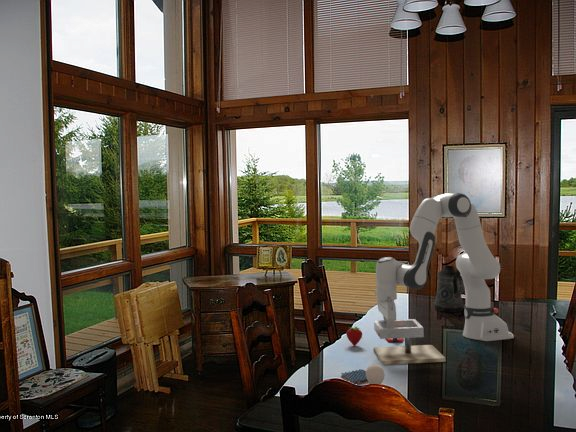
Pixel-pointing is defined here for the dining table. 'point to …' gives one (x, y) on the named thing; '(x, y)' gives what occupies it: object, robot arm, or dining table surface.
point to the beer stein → (449, 290)
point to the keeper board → (408, 354)
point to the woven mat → (355, 376)
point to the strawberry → (354, 335)
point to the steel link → (399, 329)
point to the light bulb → (375, 374)
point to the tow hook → (395, 340)
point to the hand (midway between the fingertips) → (387, 326)
